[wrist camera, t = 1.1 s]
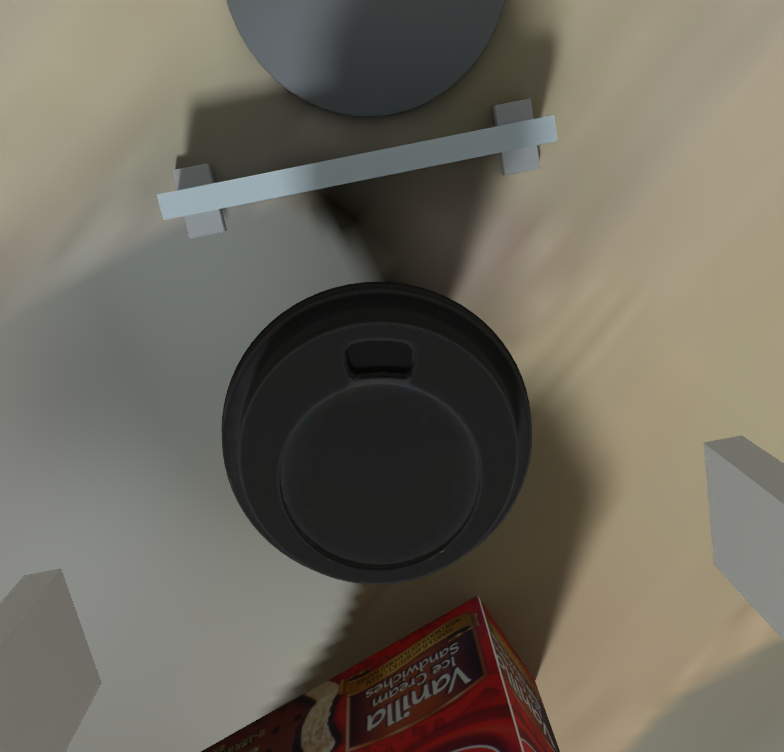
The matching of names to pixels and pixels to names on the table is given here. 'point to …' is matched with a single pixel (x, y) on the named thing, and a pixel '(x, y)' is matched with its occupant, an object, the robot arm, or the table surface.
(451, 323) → the coffee cup
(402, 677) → the ice cream box
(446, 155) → the grey bar handle
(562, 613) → the table surface
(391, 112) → the coaster
